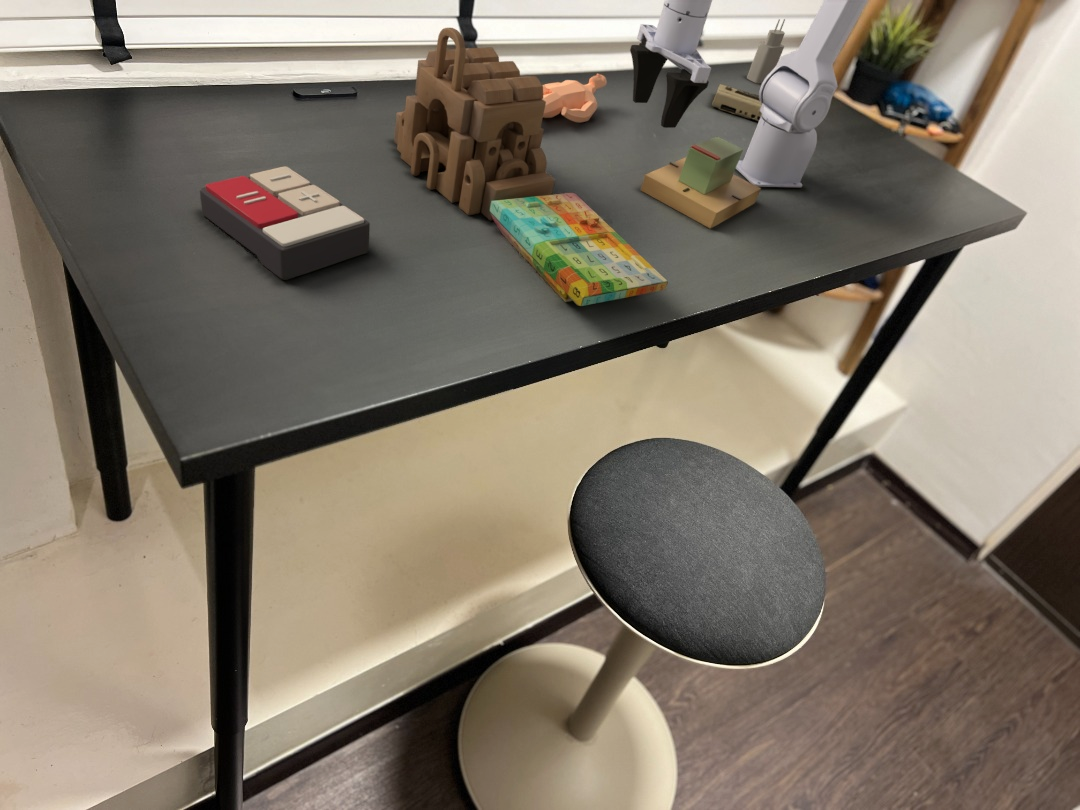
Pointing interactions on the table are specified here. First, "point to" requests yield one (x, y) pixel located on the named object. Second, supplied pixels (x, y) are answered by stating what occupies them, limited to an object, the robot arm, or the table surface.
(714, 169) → the box
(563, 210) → the puzzle game
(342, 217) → the calculator
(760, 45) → the power adapter
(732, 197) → the tan flat block
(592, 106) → the male figurine
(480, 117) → the wooden puzzle
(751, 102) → the computer
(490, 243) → the table surface
